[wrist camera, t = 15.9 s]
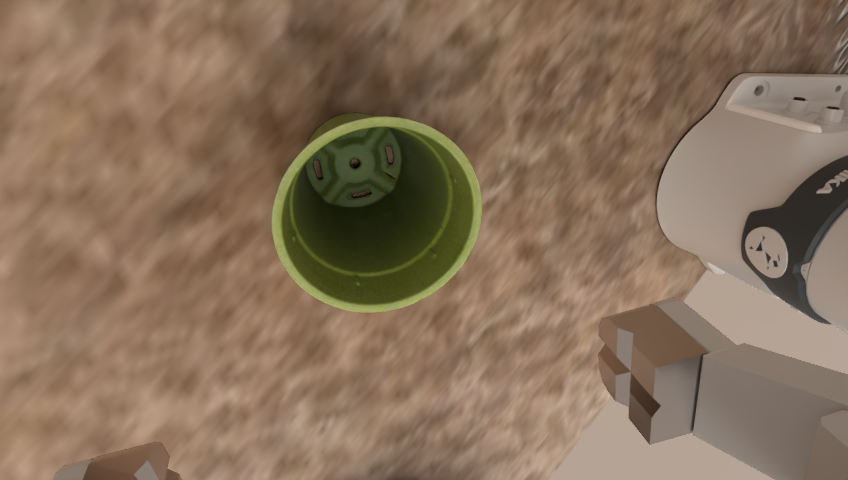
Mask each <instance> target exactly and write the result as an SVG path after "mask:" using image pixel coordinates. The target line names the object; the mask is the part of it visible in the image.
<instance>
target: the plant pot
mask: <svg viewBox="0 0 848 480" xmlns="http://www.w3.org/2000/svg"><path fill="white" fill-rule="evenodd" d="M386 146H391V147H392V151H393V155H394V158H393V160H394V161H393V163H392V164H388V162H387V154H386V149H385V147H386ZM352 159H358V160H359V161H360V166H359V167H358V168H353V167H351V166H350V162H351V160H352ZM314 160H319V161H320V167H321V171H322V176H323V178H324V179H322V180H319V179H318V178H317V176H316V174H315V170H314V163H313V161H314ZM386 173H388V174H390V175H392V176H393V177H395V180H393V179H392V178H391V177H389V176H388V175H386ZM367 190H369V191H370V192H371V193H372V194H370V195H366V196H365V197H361V198H356V199H354V198H352V194H357V193H361V192H365V191H367ZM481 217H482V196H481V190H480V185H479V182H478V179H477V176H476V174H475V171H474V169H473V167H472V165H471V163H470V162H469V160H468V159H467V157H466V156H465V154H464V153H463V152H462V150H461V149H460V148H459V147H458V146H457V145H456V144H455V143H454V142H453V141H451V140H450V139H449V138H448V137H446V136H445V135H444V134H442V133H441V132H439V131H437V130H436V129H434V128H432V127H430V126H428V125H425V124H423V123H420V122H417V121H413V120H410V119H405V118H398V117H374V116H371V115H367V114H362V113H347V114H342V115H338V116H336V117H333V118H331V119H330V120H328V121H326V122H325V123H323V124H322V125H321V126H320V127H319V128H318V129H317V130H316V131H315V132H314V134H313V135H312V136H311V138H310V140H309V141H308V144H307V146H306V147H305V148H304V149H303V150H302V151H301V152H300V153H299V155H298V156H297V157H296V158H295V159H294V161H293V162H292V163H291V165H290V166H289V168H288V169H287V171H286V172H285V174H284V176H283V178H282V180H281V182H280V184H279V187H278V189H277V192H276V196H275V199H274V204H273V209H272V235H273V241H274V245H275V248H276V251H277V254H278V256H279V259H280V261H281V263H282V264H283V266H284V268H285V269H286V271H287V272H288V274H289V275H290V276H291V277H292V279H293V280H294V281H295V282H296V283H297V284H298V285H299V286H300V287H301V288H302V289H303V290H305V291H306V292H307V293H308V294H310V295H311V296H313V297H315V298H316V299H318V300H320V301H322V302H324V303H326V304H328V305H331V306H334V307H337V308H340V309H344V310H348V311H354V312H370V313H371V312H385V311H390V310H394V309H398V308H402V307H406V306H409V305H411V304H414V303H416V302H418V301H420V300H421V299H423V298H425V297H427V296H429V295H431V294H432V293H434V292H435V291H437V290H438V289H439V288H441V287H442V286H443V285H444V284H446V283H447V282H448V281H449V280H450V279H451V278H452V277H453V276H454V275H455V274H456V272H457V271H458V270H459V269H460V268H461V267H462V265H463V264H464V262H465V261H466V259H467V257H468V256H469V254H470V252H471V250H472V248H473V246H474V244H475V241H476V239H477V236H478V233H479V229H480V224H481Z"/></svg>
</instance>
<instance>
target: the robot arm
mask: <svg viewBox="0 0 848 480" xmlns="http://www.w3.org/2000/svg"><path fill="white" fill-rule="evenodd" d="M756 88H757V90H756V91H755V89H756ZM754 91H755V93H754ZM657 214H658V219H659V223H660V226H661V228H662V230H663V232H664V234H665V235H666V237H667V238H668V239H669V240H670V241H671V242H672V243H673V244H674V245H676V246H677V247H679V248H681V249H683V250H685V251H688V252H690V253H692V254H694V255H696V256H698V258H699V259H700V261H701V262H702V264H703V265H704V266H705V267H706V268H707V269H708V270H710V271H711V272H713V273H715V274H718V275H722V274H725V273H728V274H730V275H732V276H734V277H736V278H738V279H740V280H742V281H744V282H745V283H747V284H749V285H751V286H753V287H755V288H757V289H759V290H760V291H762V292H764V293H766V294H768V295H770V296H772V297H775V298H778V299H782V300H783V301H785V302H786V303H788V304H790V305H791V307H792V308H793V309H795V310H796V311H798V312H800V313H802V314H804V315H806V316H809V317H811V318H812V319H814V320H816V321H818V322H821V323H825V324H832V325H834V326H836V327H837V328H839V329H841V330H842V331H844V332H845V333H847V334H848V74H776V73H743V74H740V75H738V76H736V77H735V78H734V79H733V80H732V81H731V82H730V84H729V85H728V86H727V88H726V89H725V91H724V92H723V94H722V96H721V97H720V99H719V100H718V102H717V104H716V106H715V107H714V108H713V109H712V110H711V112H710V113H709V114H708V115H707V116H705V117H704V118H703V119H702V120H701V121H700V122H699V123H698V124H696V125H695V126H694V127H693V128H692V129H691V130H690V131H689V132H688V133H687V134H686V136H685V137H684V138H683V139H682V140H681V142H680V143H679V144H678V146H677V147H676V149H675V150H674V152H673V153H672V155H671V157H670V159H669V160H668V162H667V164H666V167H665V169H664V171H663V174H662V177H661V180H660V184H659V188H658V194H657ZM599 337H600V338H601V339H602V340H603V341H604V343H605V345H604V346H603V348H602V349H601V351H600V352H599V354H598V359H599V370H600V374H601V377H602V380H603V383H604V385H605V386H606V388H607V390H608V392H609V393H610V395H611V396H612V397H613V398H614V400H615V401H617V402H619V403H621V404H623V405H626V406H628V407H629V419H630V420H631V422H632V423H633V424H634V425H635V427H636V428H637V429H638V430H639V432H640V433H641V434H642V436H643V437H644V438H645V439H646V441H647V442H648V443H649V444H654V443H657V442H661V441H664V440H668V439H671V438H675V437H678V436H682V435H686V434H689V433H693V435H694V436H696V437H698V438H700V439H701V440H703V441H705V442H707V443H709V444H711V445H712V446H714V447H716V448H718V449H720V450H722V451H723V452H725V453H727V454H729V455H731V456H733V457H735V458H736V459H738V460H740V461H742V462H744V463H745V464H748V465H749V466H751V467H753V468H755V469H756V470H758V471H760V472H762V473H764V474H766V475H767V476H769V477H771V478H773V479H775V480H848V374H844V373H841V372H838V371H834V370H831V369H828V368H824V367H821V366H818V365H815V364H811V363H808V362H804V361H801V360H798V359H795V358H791V357H788V356H785V355H781V354H778V353H775V352H771V351H768V350H765V349H762V348H758V347H755V346H751V345H748V344H745V343H744V344H740V345H736V344H735V343H733V342H732V341H731V340H730V339H728V338H727V337H726V336H725V335H723V334H722V333H721V332H720V331H719V330H717V329H716V328H715V327H714V326H712V325H711V324H710V323H709V322H708V321H706V320H705V319H704V318H702V317H701V316H700V315H699V314H698V313H697V312H695V311H694V310H693V309H692V308H690V307H689V306H688V305H687V304H685V303H684V302H683V301H682V300H680V299H678V298H674V297H672V298H669V299H665V300H662V301H659V302H655V303H652V304H649V305H648V306H643V307H640V308H636V309H633V310H629V311H626V312H622V313H619V314H615V315H612V316H608V317H605V318H602V319H601V321H600V324H599ZM169 458H170V456H169V454H168V452H167V451H166V449H165V447H164V445H163V444H162V443H160V442H152V443H149V444H145V445H141V446H137V447H133V448H129V449H125V450H121V451H117V452H113V453H109V454H105V455H101V456H97V457H95V458H92V459H88V460H84V461H80V462H76V463H72V464H68V465H64V466H63V467H62V468H61V469H60V470H59V471H57V472H56V474H55V476H54V478H53V480H182V479H181V477H180V475H179V474H178V473H176V472H174V471H171V470H169V469H167V468H168V463H169Z"/></svg>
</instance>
